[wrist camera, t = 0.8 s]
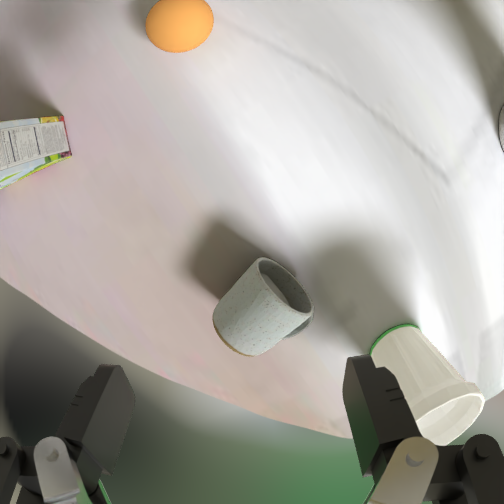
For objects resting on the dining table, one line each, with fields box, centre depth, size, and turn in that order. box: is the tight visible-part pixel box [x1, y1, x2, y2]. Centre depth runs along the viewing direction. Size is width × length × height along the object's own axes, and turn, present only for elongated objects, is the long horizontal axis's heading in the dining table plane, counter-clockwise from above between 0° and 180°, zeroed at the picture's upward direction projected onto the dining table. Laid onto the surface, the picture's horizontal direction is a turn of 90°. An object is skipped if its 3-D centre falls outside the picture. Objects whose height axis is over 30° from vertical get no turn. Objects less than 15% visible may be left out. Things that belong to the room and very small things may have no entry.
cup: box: [370, 324, 485, 446], centre depth 31 cm, size 12×12×15 cm
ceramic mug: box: [213, 257, 314, 356], centre depth 31 cm, size 11×8×8 cm
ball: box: [146, 0, 214, 53], centre depth 20 cm, size 6×6×6 cm
